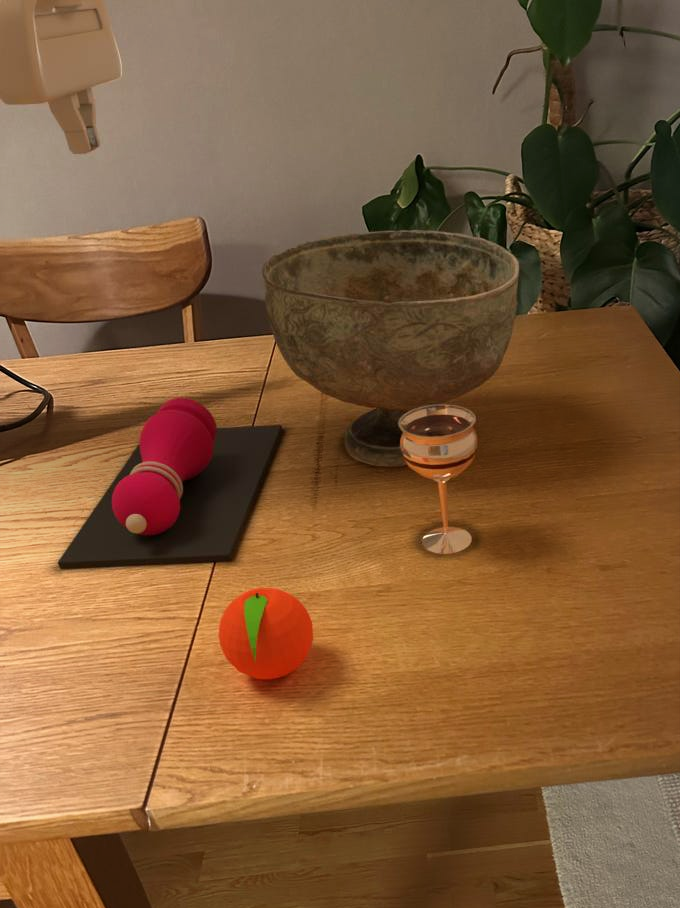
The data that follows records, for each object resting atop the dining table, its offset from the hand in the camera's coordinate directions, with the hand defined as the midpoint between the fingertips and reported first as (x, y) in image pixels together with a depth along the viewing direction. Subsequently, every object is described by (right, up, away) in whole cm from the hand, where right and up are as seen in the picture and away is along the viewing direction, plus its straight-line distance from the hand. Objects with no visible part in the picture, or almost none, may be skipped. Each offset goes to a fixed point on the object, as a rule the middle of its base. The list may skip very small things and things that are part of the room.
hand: (86, 151), depth 76 cm
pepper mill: (+4, -21, +15) cm, 26 cm away
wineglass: (+33, -35, +2) cm, 48 cm away
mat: (+5, -29, +12) cm, 32 cm away
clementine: (+20, -47, -11) cm, 53 cm away
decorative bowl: (+28, -22, +20) cm, 40 cm away
